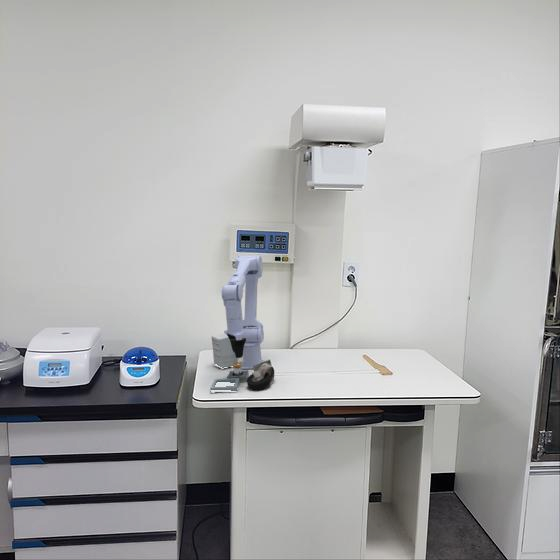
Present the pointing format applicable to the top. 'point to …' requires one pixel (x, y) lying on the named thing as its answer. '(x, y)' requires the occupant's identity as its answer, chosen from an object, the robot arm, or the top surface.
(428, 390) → the top surface
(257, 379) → the caster wheel
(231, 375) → the tensioner block
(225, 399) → the top surface
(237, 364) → the lock pin
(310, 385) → the top surface
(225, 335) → the grey box
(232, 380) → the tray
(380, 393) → the top surface
